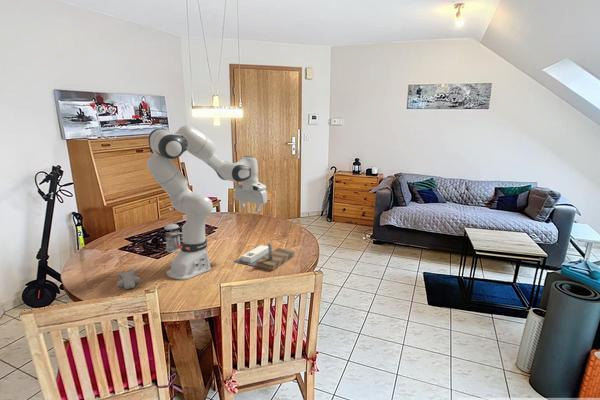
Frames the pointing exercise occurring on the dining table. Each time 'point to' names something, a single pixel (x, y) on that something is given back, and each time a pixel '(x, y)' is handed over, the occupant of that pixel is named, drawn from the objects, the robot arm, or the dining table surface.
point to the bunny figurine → (128, 279)
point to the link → (255, 254)
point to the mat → (248, 262)
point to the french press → (172, 237)
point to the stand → (275, 258)
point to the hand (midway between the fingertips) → (250, 210)
